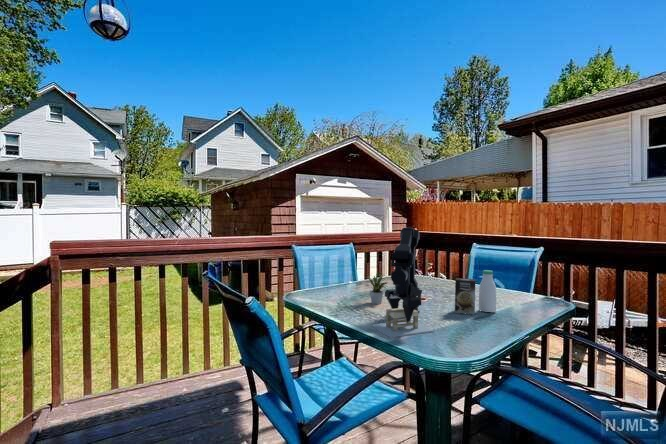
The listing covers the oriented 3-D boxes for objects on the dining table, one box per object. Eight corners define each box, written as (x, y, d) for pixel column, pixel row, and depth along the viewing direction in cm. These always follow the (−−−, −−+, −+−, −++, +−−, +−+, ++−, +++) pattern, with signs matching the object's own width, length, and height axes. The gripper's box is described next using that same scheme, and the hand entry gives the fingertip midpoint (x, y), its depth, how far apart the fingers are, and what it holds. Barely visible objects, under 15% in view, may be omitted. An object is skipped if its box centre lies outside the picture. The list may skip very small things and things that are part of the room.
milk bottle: (498, 314, 162) (498, 272, 162) (480, 313, 164) (481, 271, 163) (493, 309, 170) (494, 269, 169) (477, 308, 171) (477, 269, 171)
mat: (412, 321, 150) (412, 319, 150) (433, 331, 136) (433, 330, 136) (371, 326, 142) (371, 324, 142) (389, 337, 128) (389, 336, 128)
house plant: (365, 307, 172) (365, 275, 172) (358, 300, 186) (358, 271, 186) (392, 306, 175) (392, 274, 175) (382, 299, 189) (383, 270, 189)
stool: (386, 326, 140) (386, 309, 140) (408, 323, 144) (409, 307, 144) (394, 331, 134) (394, 313, 134) (418, 328, 138) (418, 311, 138)
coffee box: (454, 313, 163) (454, 279, 163) (455, 309, 169) (455, 277, 169) (475, 315, 159) (475, 281, 159) (475, 311, 165) (475, 278, 165)
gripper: (433, 283, 133) (432, 322, 133) (406, 275, 150) (406, 310, 151) (408, 284, 129) (408, 325, 129) (384, 276, 146) (384, 313, 147)
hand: (401, 318), depth 139 cm, fingers open, 9 cm apart
